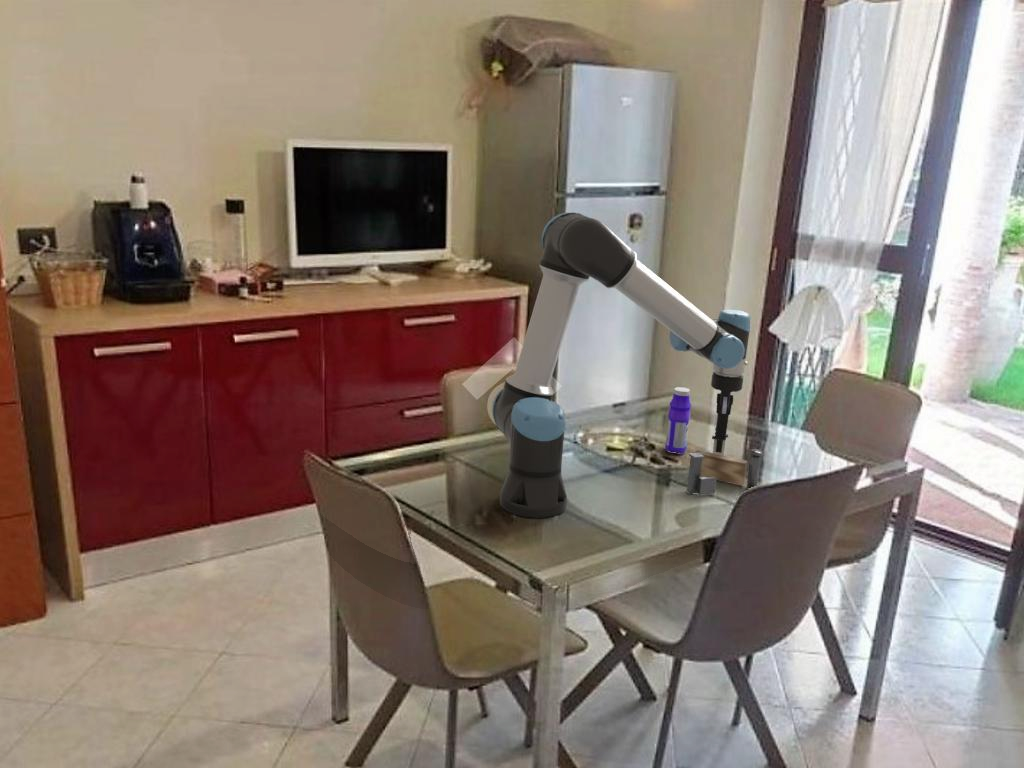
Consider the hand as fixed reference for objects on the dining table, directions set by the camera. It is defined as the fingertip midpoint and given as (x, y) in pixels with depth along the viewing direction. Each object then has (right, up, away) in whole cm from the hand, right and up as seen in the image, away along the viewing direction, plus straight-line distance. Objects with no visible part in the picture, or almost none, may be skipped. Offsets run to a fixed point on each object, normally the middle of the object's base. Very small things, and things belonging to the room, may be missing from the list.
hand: (716, 462), depth 226 cm
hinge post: (+6, -6, -9) cm, 12 cm away
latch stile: (-7, -6, -14) cm, 17 cm away
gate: (-1, -4, -5) cm, 7 cm away
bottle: (-8, +2, +14) cm, 16 cm away
